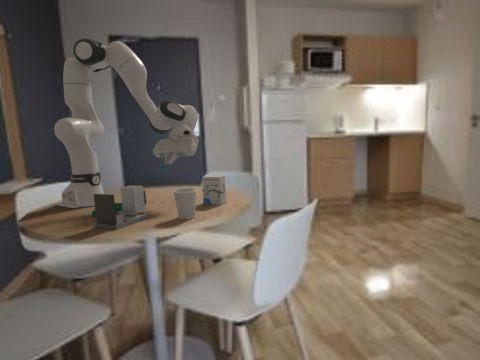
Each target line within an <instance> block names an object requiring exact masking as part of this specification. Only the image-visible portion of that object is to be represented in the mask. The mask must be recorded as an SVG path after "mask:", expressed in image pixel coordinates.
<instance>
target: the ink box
mask: <svg viewBox="0 0 480 360" xmlns="http://www.w3.org/2000/svg"><path fill="white" fill-rule="evenodd" d="M201 179H202V180H201V181H202V198H203V200H202V201H203V205H211V204H213V205H216V206H222V205H223V204H226V203H227V195H226V194H227V193H226V176H225V175H224V174H207V175H204V176H202V178H201ZM213 205H212V206H213Z"/></svg>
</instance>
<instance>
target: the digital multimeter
mask: <svg viewBox="0 0 480 360" xmlns="http://www.w3.org/2000/svg"><path fill="white" fill-rule="evenodd" d="M115 210H116V214H118V213H120V212H123V206H122V202H115ZM91 216H92V217H94V218H96V212H95V209H94V210H92V211H91Z"/></svg>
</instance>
